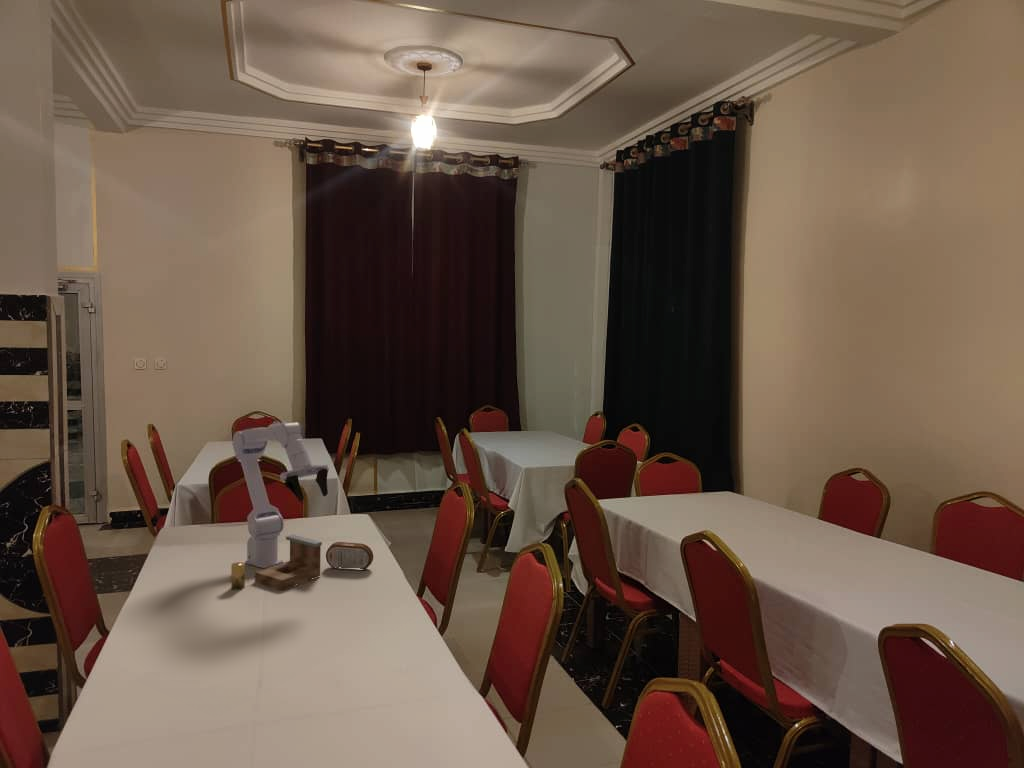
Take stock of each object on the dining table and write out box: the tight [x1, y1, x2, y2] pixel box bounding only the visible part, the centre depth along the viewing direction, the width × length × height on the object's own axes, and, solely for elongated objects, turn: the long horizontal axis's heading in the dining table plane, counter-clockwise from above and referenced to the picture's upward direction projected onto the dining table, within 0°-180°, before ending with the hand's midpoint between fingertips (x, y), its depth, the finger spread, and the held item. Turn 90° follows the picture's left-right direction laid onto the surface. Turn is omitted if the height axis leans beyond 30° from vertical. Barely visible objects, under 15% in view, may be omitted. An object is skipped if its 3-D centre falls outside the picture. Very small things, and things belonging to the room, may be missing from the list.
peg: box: [230, 561, 246, 591], centre depth 206 cm, size 4×4×7 cm
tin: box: [325, 541, 374, 570], centre depth 225 cm, size 15×3×8 cm, turn 84°
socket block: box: [254, 534, 323, 591], centre depth 214 cm, size 13×15×11 cm
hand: (314, 497), depth 207 cm, fingers open, 7 cm apart
